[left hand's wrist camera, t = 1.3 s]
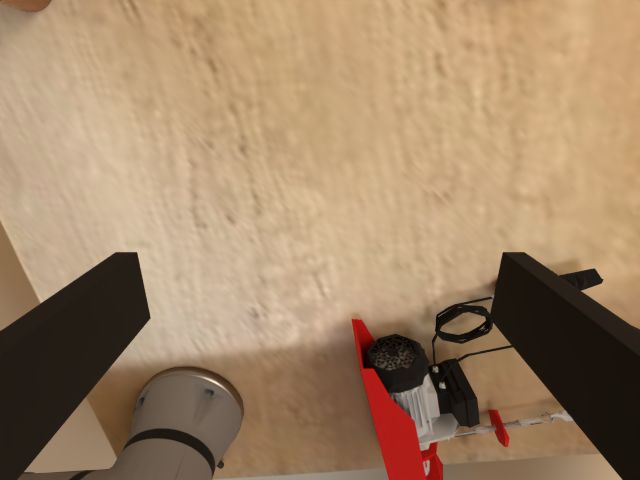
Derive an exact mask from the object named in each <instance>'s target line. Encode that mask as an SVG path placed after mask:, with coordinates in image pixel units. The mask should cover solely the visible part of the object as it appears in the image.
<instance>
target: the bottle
mask: <svg viewBox="0 0 640 480" xmlns="http://www.w3.org/2000/svg"><path fill="white" fill-rule="evenodd" d="M50 1H51V0H0V3H2V4H5V5H8V6H11V7H14V8H16V9H19V10H22V11H27V12H36V11H39V10H41V9H43V8H45V7H46V6H47V5H48V4H49V3H50Z"/></svg>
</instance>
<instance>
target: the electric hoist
mask: <svg viewBox="0 0 640 480" xmlns="http://www.w3.org/2000/svg"><path fill="white" fill-rule="evenodd" d="M560 277H561V278H562V279H564V280H565V281H567V282H568V283H570V284H571V285H573V286H574V287H576V288H577V289H579V290H580V291H581V290H584V289H587V288H590V287H593V286H596V285H598V284H601V283H602V282H603V280H604V279H601V277H600V276H599V274H598V273H597V271H596V270H595V269H589V270H584V271H579V272H574V273H570V274H565V275H560ZM496 284H497V282H496ZM495 286H496V285H495ZM493 298H494V295H492V297H487V298H483V299H478V300H473V301H468V302H464V303H459V304H455V305H452V306H450V307H448V308H446V309H445V310H443V311H442V312H440V313H439V314H437V316H436V328H435V332H436V334H435V336H434V338H433V340H432V347H433V359H434V365H430V366H429V367H430V368H429V367H428V364H429V360H428V359H427V357H426V355H425V351H424V349H423V348H422V347H421V345H420V343H418V342H416V341H413V340H411V339H409V338H405V337H403V336H400V335H397V334H393V335H390V336H386V337H383V338H380V339H378V340H377V341H374V339H373V338H372V336H371V334H370V333H369V331H368V330H367V328H366V326H365V325H364V323H363V322H362V320H358V319H352V324H353V330H354V336H355V342H356V347H357V353H358V359H359V364H360V370H361V373H362V377H363V381H364V385H365V389H366V393H367V397H368V400H369V404H370V408H371V412H372V416H373V420H374V424H375V427H376V431H377V435H378V439H379V443H380V447H381V451H382V454H383V458H384V462H385V466H386V470H387V474H388V478H389V480H443V464H442V463H441V461H440V459H439V458H438V456H437V454H436V451H437V443H438V441H442V440H446V439H448V441H449V439H450V438H453V437H457V436H464V435H470V434H476V433H480V434H481V433H485V432H490V431H495V434H496V436H497V438H498V441H499V442H500V443H501V444H502V445H503V446H505V447H508V443H509V436H508V434H507V432H506V430H505V429H507V428H513V427H520V426H526V425H532V424H538V423H545V422H551V423H553V420H555V419H558V418H562V419H563V420H565V421H574V420H573V419H572V418H571V416H570V415H569V414H566V413H567V412H566V410H565V409H564V410H561V411H559V412H557V413H553V414H549V413H547V412H546V413H544V414H547V415H548V416H549V417H550V419H551V420H550V421H544V420H540V419H539V418H540V417H541V418H542V416H543V415H544V414H543V415H541V416H540V417H537V418H528V419H522V420H520V421H519V420H517V421H518V422H517V421H513V422H509V423H502V420H501V418H500V416H499V413H498V411H497V410H489V415H490V419H491V424H492V426H484V427H477V428H475V431H472V432H467V433H461V434H456V435H454V434H455V433H456V431H457V429H458V428H459V425H460V426H468V427H469V428H471V427H473V426H475V425H477V424H480V422H479V412H478V402H477V397H476V396H475V394H474V392H473V390H472V388H471V386H470V384H469V382H468V380H467V378H466V376H465V375H464V373H463V371H462V369H461V367H460V365H459V363H458V362H459V361H461V360H463V359H464V358H466V357H468V356H471V355H476V354H481V353H486V352H491V351H496V350H501V349H506V348H511V347H513V346H512V345H510V346H505V347H500V348H495V349H490V350H485V351H480V352H475V353H470V354H466V355H464V356H463V357H461V358H459V359H458V360H457V359H456V358H455V359H449V360H446V361H443V362H441V363H439V364H435V351H434V342H435V340H436V338H437V335H438V336H439V337H440V338H441V339H442V340H445V341H450V342H455V343H460V344H463V343H465V342H468V341H470V340H473V339H476V338H478V337H481V336H483V335H486V334H488V333H489V332H490V331H491V329H492V326H493V322H492V321H491V319H490V318H489V317H490V314H489V312H488V311H487V309H486V308H484V307H483V306H470V305H464V304H469V303H474V302H479V301H483V300H488V299H493ZM458 307H461V308H458ZM451 308H452V309H451ZM449 309H450V310H449ZM448 310H449V311H448ZM446 311H447V312H446ZM444 312H446V313H444ZM457 312H458V313H457ZM466 312H471V313H474V314H478V315H481V316H485V318H486V321H485V322H484V323H483V324H482V325H480V326H479V327H477V328H475V329H474V330H472V331H470V332H468V333H464V334H461V335H455V334H449V333H445V332H442V331H440V329H441V327H442V326H443V325H444V324H446V323H447V322H449V321H451V320H452V319H454V318H456V317H457V316H459V315H461V314H462V313H466ZM443 313H444V314H443ZM441 314H442V315H441ZM454 314H455V315H454ZM439 315H441V316H439ZM438 316H439V317H438ZM438 320H439V321H438ZM484 325H485V326H484ZM483 326H484V328H485V329H484V328H483V330H482V329H481V328H482V327H483ZM479 329H481V330H482V331H481V330H479ZM487 329H488V330H487ZM486 330H487V331H486ZM484 331H485V332H484ZM464 339H466V340H464ZM460 340H464V341H460ZM562 411H563V412H562ZM544 416H546V415H544ZM544 416H543V417H544ZM510 424H511V425H510Z"/></svg>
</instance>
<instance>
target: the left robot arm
mask: <svg viewBox="0 0 640 480" xmlns="http://www.w3.org/2000/svg"><path fill="white" fill-rule="evenodd" d="M489 318H490V319H491V321H492V322H493V323H494V324H495V325H496V327H497V328H498V329H499V330H500V331H501V333H502V334H503V335H504V336H505V338H506V339H507V340H508V341H509V342H510V344H511V345H512V346H513V347H514V348H515V350H516V351H517V352H518V353H519V355H520V356H521V357H522V358H523V359H524V361H525V362H526V363H527V364H528V365H529V367H530V368H531V369H532V370H533V372H534V373H535V374H536V375H537V376H538V378H539V379H540V380H541V381H542V382H543V384H544V385H545V386H546V387H547V389H548V390H549V391H550V392H551V393H552V395H553V396H554V397H555V398H556V399H557V401H558V402H559V403H560V404H561V406H562V407H563V408H564V409H565V410H566V412H567V413H568V414H569V415H570V416H571V418H572V419H573V420H574V421H575V423H576V424H577V425H578V426H579V427H580V429H581V430H582V431H583V432H584V433H585V435H586V436H587V437H588V438H589V440H590V441H591V442H592V443H593V444H594V446H595V447H596V448H597V449H598V450H599V452H600V453H601V454H602V455H603V457H604V458H605V459H606V460H607V461H608V463H609V464H610V465H611V466H612V467H613V469H614V470H615V471H616V472H617V473H618V475H619V476H620V477H621V478H622V480H640V329H638V328H636V327H634V326H631V325H630V324H628V323H627V322H625V321H624V320H622V319H621V318H619V317H618V316H617V315H615V314H614V313H612V312H611V311H609V310H608V309H606V308H605V307H603V306H602V305H600V304H599V303H598V302H596V301H595V300H593V299H592V298H590V297H589V296H587V295H586V294H584V293H583V292H581V291H580V290H579V289H577V288H576V287H574V286H573V285H571V284H570V283H568V282H567V281H565V280H564V279H562V278H561V277H560V276H558V275H557V274H555V273H554V272H552V271H551V270H549V269H548V268H546V267H545V266H544V265H542V264H541V263H539V262H538V261H536V260H535V259H533V258H532V257H530V256H529V255H527V254H526V253H525V252H503V254H502V259H501V264H500V269H499V274H498V279H497V284H496V288H495V293H494V298H493V303H492V308H491V313H490V317H489ZM149 319H150V313H149V308H148V303H147V298H146V293H145V288H144V284H143V279H142V274H141V269H140V264H139V259H138V254H137V252H115V253H114V254H113V255H111V256H110V257H108V258H107V259H105V260H104V261H102V262H101V263H99V264H98V265H96V266H95V267H94V268H92V269H91V270H89V271H88V272H86V273H85V274H83V275H82V276H80V277H79V278H78V279H76V280H75V281H73V282H72V283H70V284H69V285H67V286H66V287H64V288H63V289H61V290H60V291H59V292H57V293H56V294H54V295H53V296H51V297H50V298H48V299H47V300H45V301H44V302H42V303H41V304H40V305H38V306H37V307H35V308H34V309H32V310H31V311H29V312H28V313H26V314H25V315H24V316H22V317H21V318H19V319H18V320H16V321H15V322H13V323H12V324H10V325H9V326H7V327H6V328H4V329H3V330H1V331H0V480H18V478H19V477H20V476H21V475H22V474H23V472H24V471H25V470H26V469H27V467H28V466H29V465H30V464H31V463H32V461H33V460H34V459H35V458H36V456H37V455H38V454H39V453H40V452H41V450H42V449H43V448H44V447H45V446H46V444H47V443H48V442H49V441H50V440H51V438H52V437H53V436H54V435H55V433H56V432H57V431H58V430H59V429H60V427H61V426H62V425H63V424H64V423H65V421H66V420H67V419H68V418H69V416H70V415H71V414H72V413H73V412H74V410H75V409H76V408H77V407H78V406H79V404H80V403H81V402H82V401H83V399H84V398H85V397H86V396H87V395H88V393H89V392H90V391H91V390H92V389H93V387H94V386H95V385H96V384H97V382H98V381H99V380H100V379H101V378H102V376H103V375H104V374H105V373H106V372H107V370H108V369H109V368H110V367H111V365H112V364H113V363H114V362H115V361H116V359H117V358H118V357H119V356H120V355H121V353H122V352H123V351H124V350H125V348H126V347H127V346H128V345H129V344H130V342H131V341H132V340H133V339H134V338H135V336H136V335H137V334H138V333H139V331H140V330H141V329H142V328H143V327H144V325H145V324H146V323H147V322H148V321H149Z"/></svg>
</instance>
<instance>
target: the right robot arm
mask: <svg viewBox="0 0 640 480" xmlns="http://www.w3.org/2000/svg"><path fill="white" fill-rule="evenodd" d="M243 413H244V409H243V403H242V400H241V397H240V395H239V394H238V392H237V391H236V389H235V388H234V387H233V386H232V385H231V384H230V383H229V382H228V381H226V380H225V379H224V378H222V377H220V376H219V375H217V374H215V373H213V372H210V371H207V370H204V369H199V368H193V367H178V368H172V369H168V370H165V371H163V372H161V373H159V374H157V375H156V376H154V377H153V378H152V379H151V380H150V381H149V382H148V383H147V384H146V386H145V387H144V389H143V390H142V392H141V394H140V395H139V397H138V400H137V403H136V406H135V411H134V416H133V420H132V425H131V430H130V434H129V439H128V442H127V444H126V445H125V447H124V449H123V450H122V452H121V454H120V455H119V457H118V459H117V460H116V462H115V464H114V465H113V467H111V468H110V469H104V470H85V471H68V472H53V473H33V472H23V474H22V475H21V476H20V477H19V478H18V480H212V478H213V474H214V471H215V468H216V466H217V467H219V468H220V469H221V468H223V466H224V463H223V462H222V461H221V458H222V457H223V455H224V454H225V452H226V451H227V449H228V448H229V446H230V444H231V443H232V442H233V440H234V439H235V437H236V436H237V434H238V432H239V430H240V426H241V423H242V419H243Z"/></svg>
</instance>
